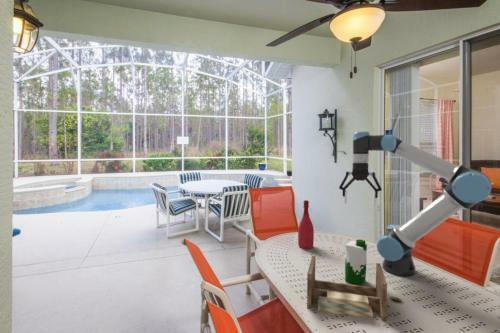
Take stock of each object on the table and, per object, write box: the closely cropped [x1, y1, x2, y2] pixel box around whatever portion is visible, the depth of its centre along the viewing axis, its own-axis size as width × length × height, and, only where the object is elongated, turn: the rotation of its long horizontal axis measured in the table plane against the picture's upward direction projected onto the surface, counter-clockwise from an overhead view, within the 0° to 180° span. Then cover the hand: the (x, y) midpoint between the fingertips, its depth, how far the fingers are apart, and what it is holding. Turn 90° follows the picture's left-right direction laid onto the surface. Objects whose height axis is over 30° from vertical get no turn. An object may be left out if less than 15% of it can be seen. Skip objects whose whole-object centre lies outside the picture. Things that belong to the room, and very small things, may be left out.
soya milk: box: [344, 239, 368, 286], centre depth 133 cm, size 9×9×20 cm
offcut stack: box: [317, 291, 374, 319], centre depth 109 cm, size 20×6×6 cm, turn 77°
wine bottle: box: [297, 199, 315, 250], centre depth 179 cm, size 10×10×30 cm
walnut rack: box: [306, 255, 388, 322], centre depth 116 cm, size 28×19×14 cm, turn 72°
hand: (359, 203), depth 144 cm, fingers open, 13 cm apart
